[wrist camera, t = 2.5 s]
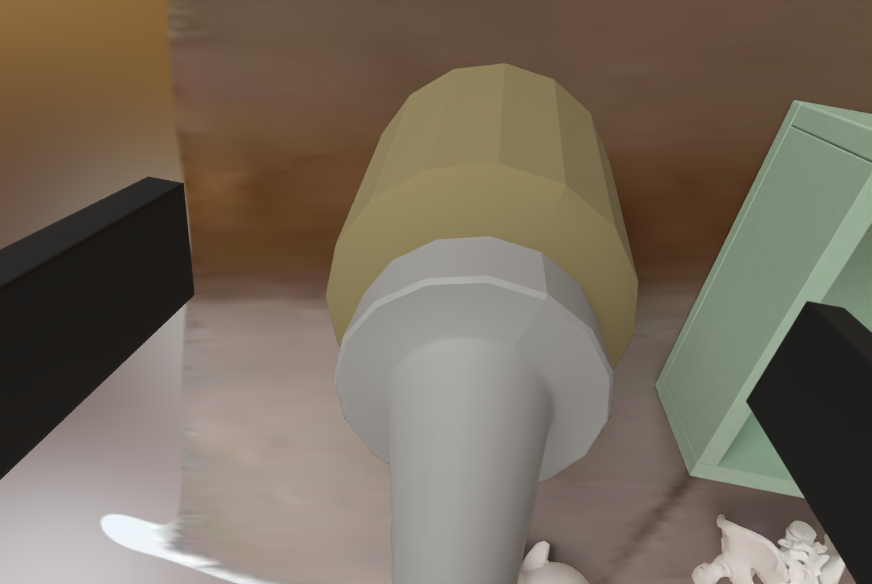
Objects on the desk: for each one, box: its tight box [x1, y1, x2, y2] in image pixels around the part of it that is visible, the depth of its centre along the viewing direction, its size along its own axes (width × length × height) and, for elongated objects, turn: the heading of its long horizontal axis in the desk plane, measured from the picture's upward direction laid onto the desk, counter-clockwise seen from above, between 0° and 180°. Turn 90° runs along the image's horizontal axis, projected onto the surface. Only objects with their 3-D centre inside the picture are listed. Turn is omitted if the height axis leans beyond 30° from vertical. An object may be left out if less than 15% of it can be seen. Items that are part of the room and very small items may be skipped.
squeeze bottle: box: [326, 63, 638, 584], centre depth 13 cm, size 8×8×18 cm
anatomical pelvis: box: [692, 514, 845, 584], centre depth 28 cm, size 8×4×7 cm
